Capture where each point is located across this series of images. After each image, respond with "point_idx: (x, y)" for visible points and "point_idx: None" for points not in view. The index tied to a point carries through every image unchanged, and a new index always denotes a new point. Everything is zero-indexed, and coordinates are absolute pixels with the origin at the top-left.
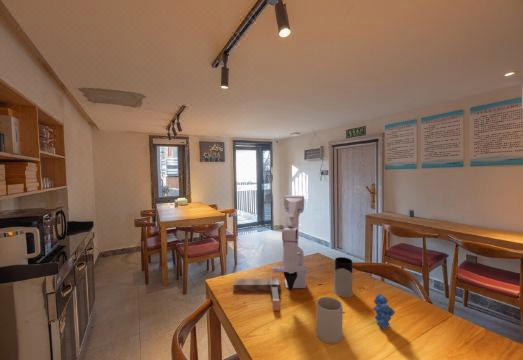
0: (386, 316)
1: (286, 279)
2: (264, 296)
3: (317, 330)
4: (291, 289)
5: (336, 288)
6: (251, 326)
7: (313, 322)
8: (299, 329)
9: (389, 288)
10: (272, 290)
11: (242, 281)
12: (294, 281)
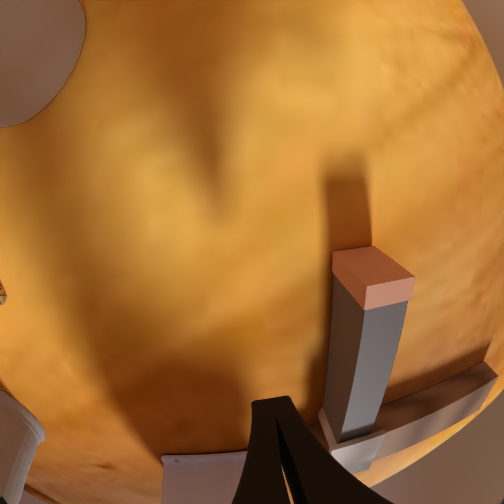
0: None
1: (377, 499)
2: None
3: (72, 6)
4: (262, 408)
5: (18, 429)
6: (469, 101)
7: (85, 145)
8: (193, 50)
9: None
10: (382, 396)
11: (463, 410)
12: (235, 501)
